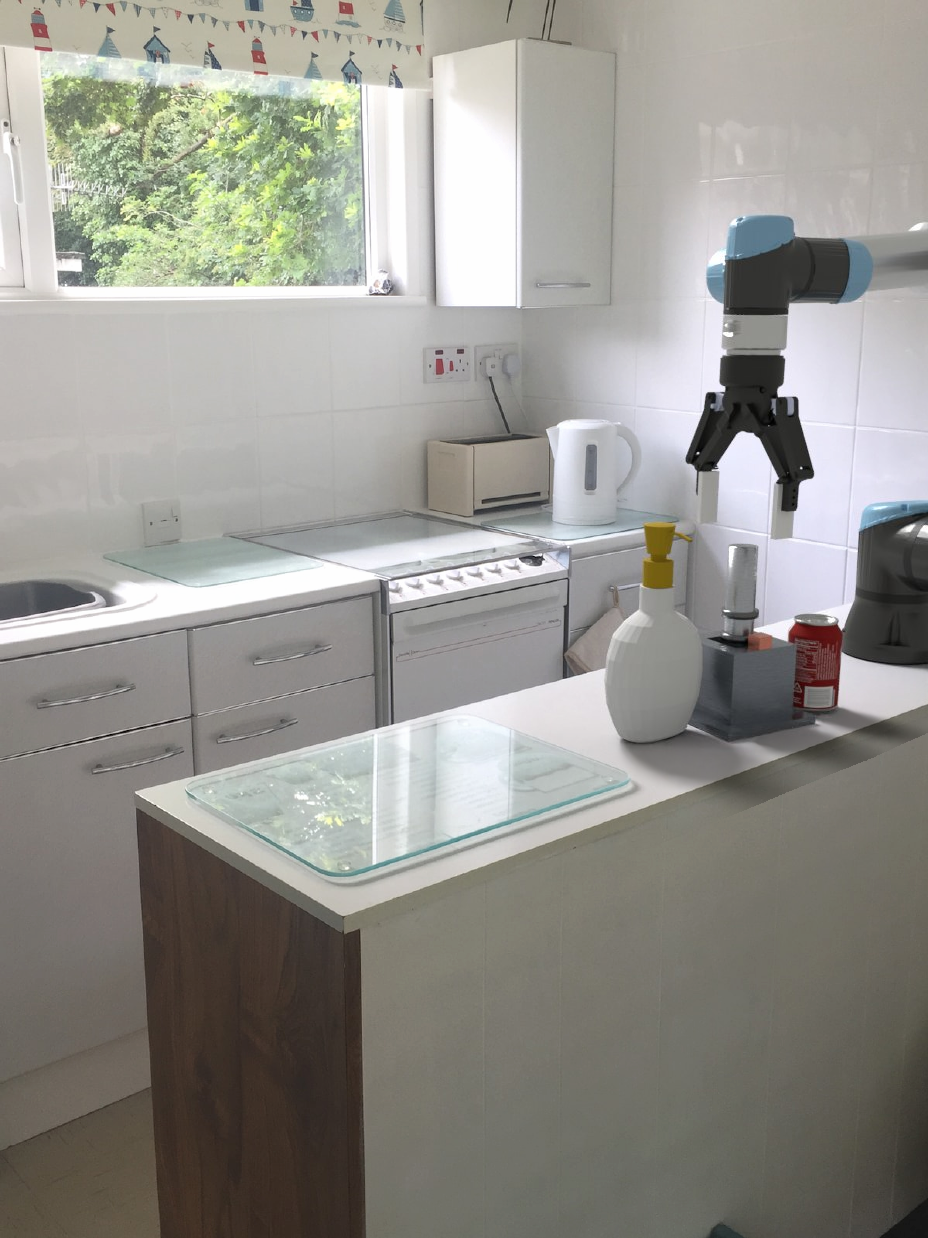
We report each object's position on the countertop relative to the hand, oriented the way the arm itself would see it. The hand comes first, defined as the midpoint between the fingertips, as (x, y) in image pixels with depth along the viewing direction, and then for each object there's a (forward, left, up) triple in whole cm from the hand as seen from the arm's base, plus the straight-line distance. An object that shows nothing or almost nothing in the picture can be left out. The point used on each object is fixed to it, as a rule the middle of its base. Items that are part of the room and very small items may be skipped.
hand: (742, 530), depth 148 cm
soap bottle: (+13, +1, -24) cm, 28 cm away
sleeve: (0, 0, -24) cm, 24 cm away
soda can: (-11, +2, -24) cm, 27 cm away
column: (0, 0, -23) cm, 23 cm away
